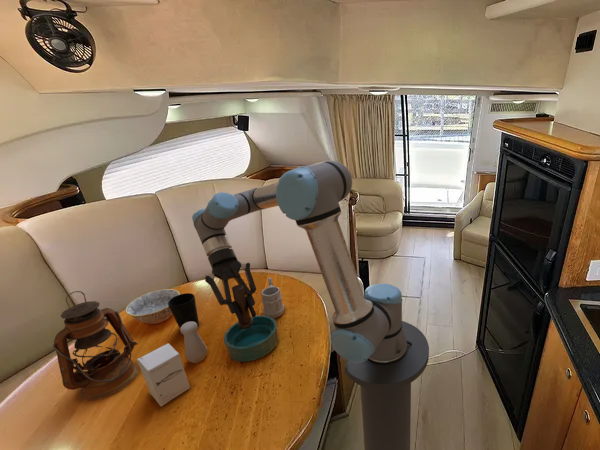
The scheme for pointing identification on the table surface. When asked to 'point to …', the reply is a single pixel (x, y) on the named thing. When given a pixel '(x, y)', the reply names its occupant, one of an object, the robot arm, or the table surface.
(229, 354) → the teal bowl
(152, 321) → the bowl
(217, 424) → the table surface
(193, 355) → the salt shaker
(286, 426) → the table surface
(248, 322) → the walnut stirrer
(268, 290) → the mug
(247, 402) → the table surface
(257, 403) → the table surface
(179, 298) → the cup
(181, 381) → the white packaging box
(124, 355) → the lantern
